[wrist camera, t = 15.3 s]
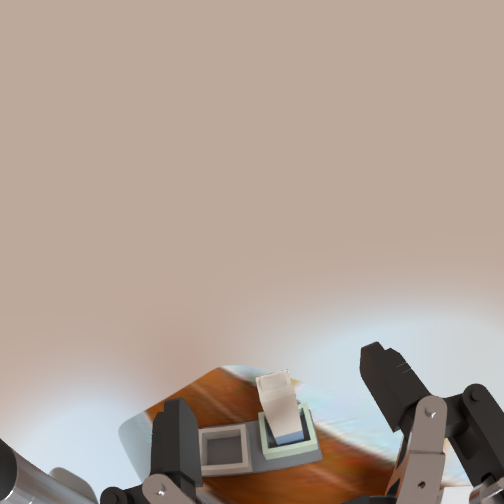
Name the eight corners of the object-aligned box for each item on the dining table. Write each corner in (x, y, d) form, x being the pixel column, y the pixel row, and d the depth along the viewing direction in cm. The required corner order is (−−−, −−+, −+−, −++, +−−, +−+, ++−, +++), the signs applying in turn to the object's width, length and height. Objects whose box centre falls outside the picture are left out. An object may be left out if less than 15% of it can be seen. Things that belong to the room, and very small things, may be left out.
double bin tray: (201, 477, 28) (193, 470, 27) (202, 429, 36) (196, 420, 35) (322, 460, 28) (322, 453, 27) (310, 411, 36) (308, 401, 35)
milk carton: (278, 448, 31) (258, 397, 25) (273, 428, 34) (253, 372, 28) (304, 441, 31) (294, 388, 25) (298, 421, 34) (286, 363, 28)
